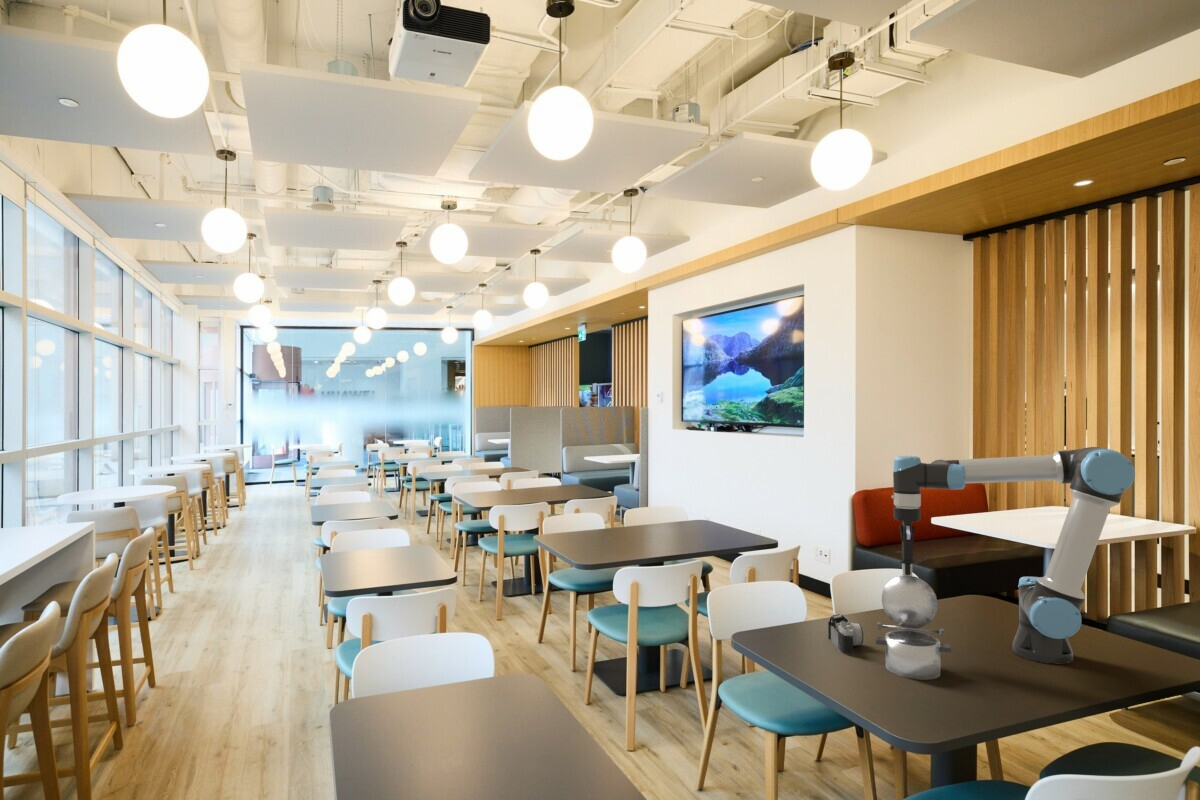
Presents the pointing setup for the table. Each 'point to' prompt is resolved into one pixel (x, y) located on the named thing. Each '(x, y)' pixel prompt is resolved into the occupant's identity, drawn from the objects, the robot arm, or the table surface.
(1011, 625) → the table surface
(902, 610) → the lid
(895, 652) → the pot
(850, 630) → the camera
